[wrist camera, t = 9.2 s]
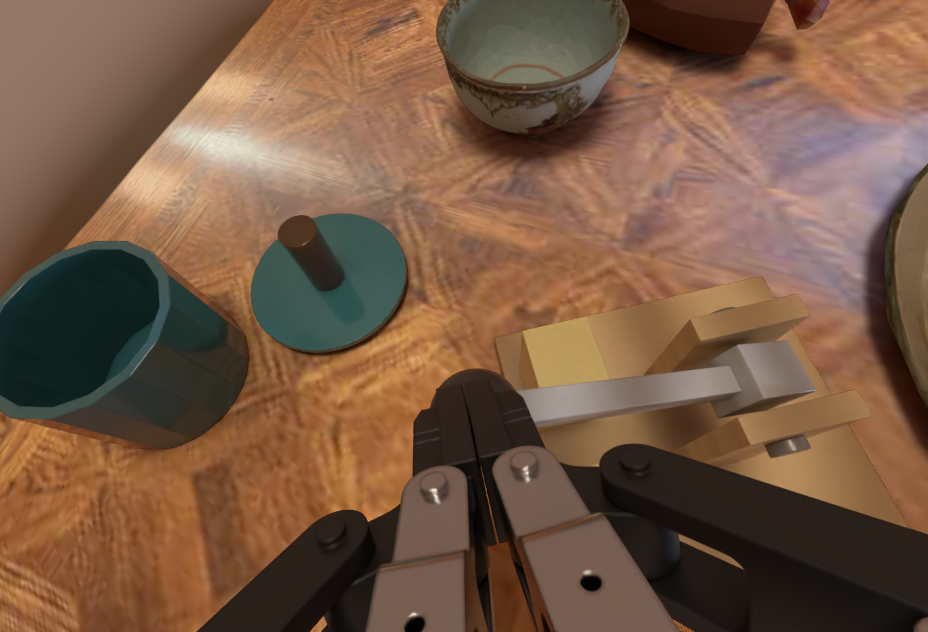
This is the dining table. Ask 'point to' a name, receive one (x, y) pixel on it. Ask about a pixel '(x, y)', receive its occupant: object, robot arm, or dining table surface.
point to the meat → (714, 21)
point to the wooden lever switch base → (696, 426)
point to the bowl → (530, 58)
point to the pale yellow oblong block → (560, 357)
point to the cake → (910, 279)
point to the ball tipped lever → (668, 387)
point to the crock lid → (328, 282)
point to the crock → (117, 349)
